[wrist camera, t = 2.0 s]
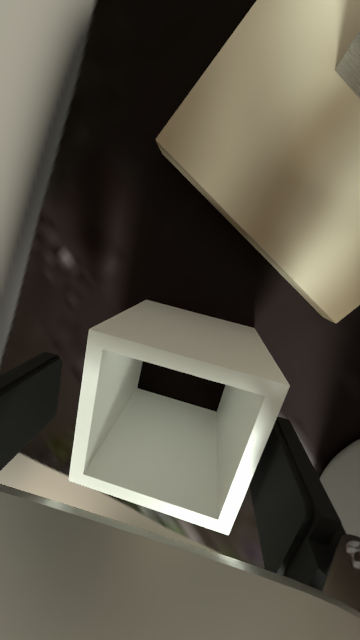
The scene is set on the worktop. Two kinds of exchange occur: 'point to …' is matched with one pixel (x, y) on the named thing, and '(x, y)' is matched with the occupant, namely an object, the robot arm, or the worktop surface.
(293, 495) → the robot arm
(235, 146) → the board
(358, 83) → the block
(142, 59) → the worktop surface
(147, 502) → the duct collar
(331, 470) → the cylinder vase
